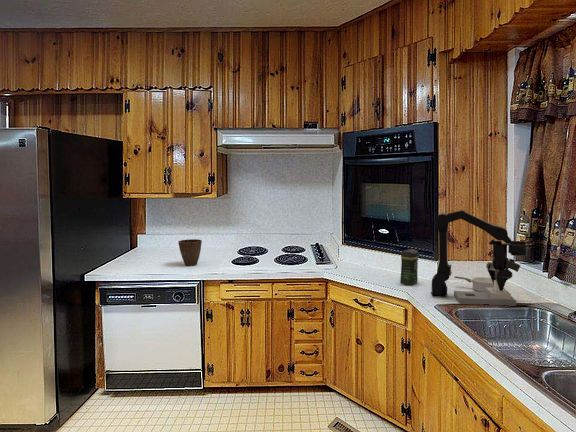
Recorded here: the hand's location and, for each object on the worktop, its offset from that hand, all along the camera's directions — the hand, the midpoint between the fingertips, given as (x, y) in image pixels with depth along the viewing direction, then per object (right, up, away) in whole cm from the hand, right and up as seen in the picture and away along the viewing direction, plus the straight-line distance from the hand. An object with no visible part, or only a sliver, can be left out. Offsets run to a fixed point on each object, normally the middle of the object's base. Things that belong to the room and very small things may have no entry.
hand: (497, 288), depth 194 cm
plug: (0, -4, 0) cm, 4 cm away
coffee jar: (-31, -3, +33) cm, 46 cm away
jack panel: (-6, -6, +2) cm, 9 cm away
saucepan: (-1, -5, +21) cm, 22 cm away
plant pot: (-160, +1, +83) cm, 180 cm away
